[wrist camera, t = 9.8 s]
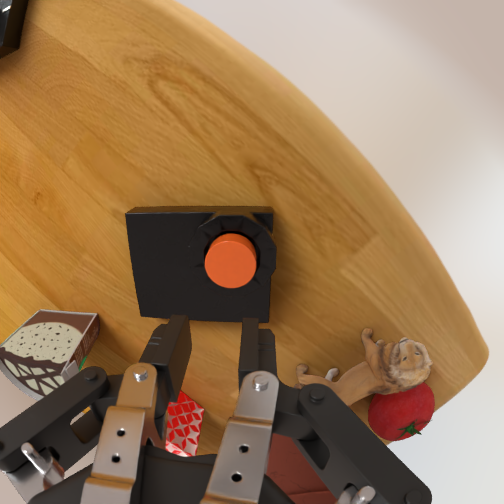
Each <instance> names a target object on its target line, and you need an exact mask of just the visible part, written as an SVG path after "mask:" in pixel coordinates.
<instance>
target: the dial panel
mask: <svg viewBox="0 0 504 504" xmlns="http://www.w3.org/2000/svg"><path fill="white" fill-rule="evenodd" d="M28 2H29V0H0V59H1V58H3V57H4V56H6V55H8V54H10V53H12V52H14V51H16V50H18V49H19V45H20V39H21V33H22V28H23V23H24V18H25V14H26V10H27V6H28Z"/></svg>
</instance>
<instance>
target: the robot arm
mask: <svg viewBox="0 0 504 504" xmlns="http://www.w3.org/2000/svg"><path fill="white" fill-rule="evenodd" d="M258 320H259V318H243V324H242V335H241V346H240V357H239V369H238V376H239V396H238V400H237V403H236V407H235V410H234V413H233V416H232V417H230V418H229V419H228V422H227V425H226V428H225V432H224V435H223V438H222V441H221V445H220V448H219V451H218V454H208V455H198V456H187V457H183V456H179V455H177V454H174V453H171V452H169V451H166V435H167V423H168V410H167V408H168V405H169V402H174V403H177V400H178V397H179V393H180V390H181V386H182V383H183V379H184V375H185V372H186V368H187V365H188V361H189V358H190V354H191V349H192V341H191V333H190V325H189V318H188V316H187V315H172V316H171V318H170V320H169V322H168V324H161V325H159V326H158V327H157V328H156V329H155V330H154V331H153V333H152V335H151V338H150V340H149V342H148V344H147V346H146V348H145V350H144V352H143V354H142V356H141V358H140V360H139V363H135V364H133V365H131V366H129V367H128V368H127V369H126V371H125V373H124V374H121V375H110V376H107V374H106V372H105V371H104V370H103V369H102V368H100V367H96V366H91V367H87V368H85V369H83V370H81V371H80V372H79V373H77V374H76V375H74V376H73V377H72V378H70V379H69V380H67V381H66V382H64V383H63V384H62V385H60V386H59V387H57V388H56V389H55V390H53V391H52V392H50V393H49V394H48V395H46V396H45V397H43V398H42V399H40V400H39V401H38V402H36V403H35V404H34V405H32V406H31V407H29V408H28V409H26V410H25V411H24V412H22V413H21V414H19V415H18V416H17V417H15V418H14V419H12V420H11V421H9V422H8V423H7V424H5V425H4V426H2V427H1V428H0V470H1V471H2V472H3V473H4V474H5V475H6V476H7V477H8V478H9V479H10V481H11V482H12V484H13V485H14V487H15V488H16V490H17V491H18V493H19V494H20V495H21V497H22V498H23V499H24V501H25V502H26V503H27V504H296V503H295V502H294V501H293V500H292V499H291V498H290V497H289V496H288V495H287V494H286V493H285V492H284V491H283V490H282V489H281V488H280V487H279V486H278V485H277V484H276V483H275V482H274V481H273V480H272V479H271V478H270V477H269V476H267V475H266V474H267V468H268V461H269V455H270V449H271V443H272V437H273V433H275V434H279V435H283V436H287V437H291V438H292V441H293V442H294V444H295V445H296V446H297V448H298V449H299V450H300V452H301V453H302V455H303V456H304V457H305V459H306V460H307V461H308V463H309V464H310V465H311V467H312V468H313V469H314V471H315V472H316V473H317V475H318V476H319V477H320V479H321V480H322V481H323V482H324V484H325V485H326V486H327V488H328V489H329V490H330V491H331V493H332V494H333V495H334V496H335V498H336V499H337V500H336V502H335V503H334V504H431V502H432V494H431V491H430V489H429V488H428V487H427V486H426V485H425V484H424V483H423V482H422V481H421V480H420V479H419V478H418V477H417V476H416V475H415V474H414V473H413V472H412V471H411V470H410V469H409V468H408V467H407V466H406V465H405V464H404V463H403V462H402V461H401V460H400V459H398V457H397V456H396V455H395V454H394V453H393V452H392V451H391V450H390V449H389V448H388V447H387V446H386V445H385V444H384V443H383V442H382V441H381V440H380V439H379V438H378V437H377V436H376V435H375V434H374V433H373V432H372V431H371V430H370V429H369V428H368V427H367V426H366V425H365V424H364V423H363V422H362V421H361V420H360V419H359V418H358V416H357V415H356V414H355V413H354V412H353V411H352V410H351V409H350V408H349V407H348V406H347V405H346V404H345V403H344V402H343V401H342V400H341V399H340V398H339V396H338V395H337V394H336V393H335V392H334V391H333V390H332V389H331V388H330V387H328V386H326V385H324V384H320V383H312V384H308V385H306V386H304V387H302V388H301V389H296V388H292V387H289V386H287V385H285V384H283V383H282V382H281V381H280V380H279V378H278V376H277V366H276V351H275V350H276V349H275V336H274V334H273V333H272V331H271V330H270V329H258ZM88 406H89V407H90V409H91V410H89V411H88V412H87V413H86V414H84V415H83V416H82V417H80V418H79V419H78V420H77V421H76V422H74V423H73V424H72V425H70V423H71V421H72V419H73V418H74V417H75V416H77V415H78V414H79V413H81V412H82V411H83V410H84V409H86V408H87V407H88ZM97 444H98V445H97ZM96 445H97V450H96V454H95V458H94V463H92V464H90V465H89V466H87V467H85V468H84V469H82V470H80V471H78V472H77V473H75V474H73V475H71V476H70V477H68V478H66V479H64V472H65V471H66V470H68V469H69V468H70V467H71V466H73V465H74V464H75V463H76V462H77V461H78V460H80V459H81V458H82V457H83V456H85V455H86V454H87V453H88V452H89V451H90V450H92V449H93V448H94V447H95V446H96Z"/></svg>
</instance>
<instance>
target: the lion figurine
mask: <svg viewBox="0 0 504 504" xmlns="http://www.w3.org/2000/svg"><path fill="white" fill-rule="evenodd" d="M372 335H373V332H372V329H369V328H367V329H364V330H363V331H362V334H361V339H362V343H363V344H364V346H365V351H366V355H365V359H366V361H365V362H362V363H360V364H358V365H356V366H354V367H353V368H351V369H350V370H348V371H347V372H346V373H344V374H343V375H342V376H341V378H340V379H339V381H337V382H332V378H333V377H335V376H337V375H338V374H339V370H338V369H337V368H333V369H331V370H329V371H328V373H327V375H326V377H325V378H323V377H321V376H316V375H305V374H304V373H305V372H307V370H308V366H306V365H305V364H300V365H298V366H297V368H296V374H297V377H298V380H299V382H300V384H296V385H295V386H294V388H296V389H301V388H302V387H304V386H303V385H308V384H312V383H320V384H324V385H326V386H328V387H330V388H331V389H332V390H333V391H334V392H335V393H336V394H337V395H338V396H339V398H340V399H341V400H342V401H343V402H344V403H345V404H346V405H347V406H348V407H349V406H350V405H351V404H353V403H355V402H356V401H358V400H360V399H362V398H364V397H366V396H368V395H370V394H372V393H379V394H382V395H387V394H393V393H398V392H399V391H402V392H404V391H407V390H410V389H413V388H415V387H417V385H420V384H421V383H422V382H424V381H425V380H426V379H427V378H428V376H429V374H430V369H431V365H432V364H433V362H432V361H431V359H430V358H429V355H428V351H427V350H426V348H425V346H424V345H423V344H421V343H419V342H414V341H413V340H411V339H410V340H409V339H408V338H406V337H404V338H402V339H401V340H400V342H399V343H396V342H391V343H389V344H387V345H386V346H385V342H384V341H383V340H379V341H377V342H376V343H374V342H373V341H372V340H371V338H370V337H371V336H372ZM384 346H385V347H384ZM302 384H303V385H302Z"/></svg>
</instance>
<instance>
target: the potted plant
mask: <svg viewBox="0 0 504 504" xmlns="http://www.w3.org/2000/svg"><path fill="white" fill-rule="evenodd" d="M266 475H267V476H269V477H270V478H271V479H272V480H273V481H274V482H275V483H276V484H277V485H278V486H279V487H280V488H281V489H282V490H283V491H284V492H285V493H286V494H287V495H288V496H289V497H290V498H291V499H292V500H293V501H294V502H295V503H296V504H334V503H335V502H336V500H337V499H336V498H335V496H334V495H333V494H332V493H331V491H330V490H329V489H328V488H327V486H326V485H325V484H324V482H323V481H322V480H321V479H320V477H319V476H318V475H317V473H316V472H315V471H314V469H313V468H312V467H311V465H310V464H309V463H308V461H307V460H306V459H305V457H304V456H303V455H302V453H301V452H300V450H299V449H298V448H297V446H296V445H295V444H294V442H293V441H292V438H291V437H287V436H283V435H279V434H275V433H273V437H272V443H271V449H270V455H269V461H268V468H267V474H266Z"/></svg>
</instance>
